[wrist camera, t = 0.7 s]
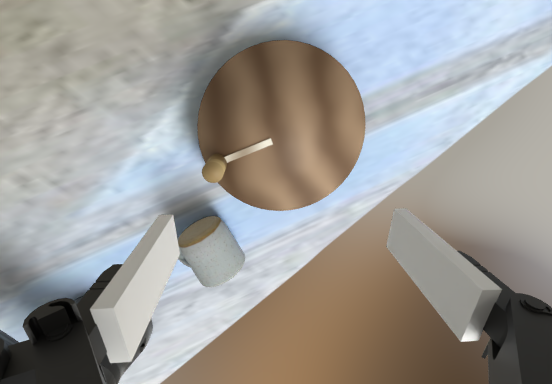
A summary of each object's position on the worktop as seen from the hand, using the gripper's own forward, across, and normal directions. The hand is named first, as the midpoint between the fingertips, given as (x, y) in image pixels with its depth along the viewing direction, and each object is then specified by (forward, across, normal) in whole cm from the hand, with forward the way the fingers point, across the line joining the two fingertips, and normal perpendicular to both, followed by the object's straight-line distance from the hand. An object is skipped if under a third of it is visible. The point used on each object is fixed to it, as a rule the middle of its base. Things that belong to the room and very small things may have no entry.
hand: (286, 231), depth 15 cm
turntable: (+21, +1, +2) cm, 21 cm away
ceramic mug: (+23, -10, -16) cm, 29 cm away
